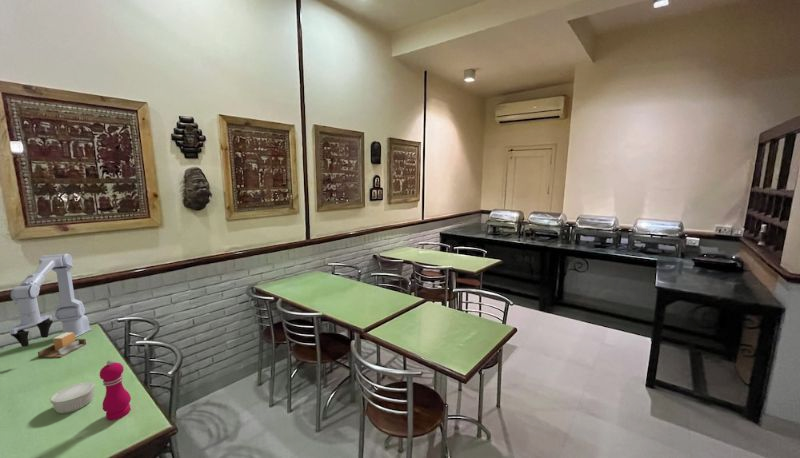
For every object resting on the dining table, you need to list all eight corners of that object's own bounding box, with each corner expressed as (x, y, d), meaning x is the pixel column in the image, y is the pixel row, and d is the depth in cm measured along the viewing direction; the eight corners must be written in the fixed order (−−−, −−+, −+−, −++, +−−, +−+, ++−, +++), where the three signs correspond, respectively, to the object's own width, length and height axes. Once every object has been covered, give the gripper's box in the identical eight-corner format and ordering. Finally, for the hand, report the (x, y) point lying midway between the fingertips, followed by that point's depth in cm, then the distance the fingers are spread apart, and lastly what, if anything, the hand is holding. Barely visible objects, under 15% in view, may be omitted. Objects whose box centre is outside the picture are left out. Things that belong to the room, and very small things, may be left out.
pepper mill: (99, 419, 107) (89, 364, 104) (123, 404, 114) (114, 352, 111) (114, 423, 105) (104, 367, 102) (137, 408, 112) (129, 355, 109)
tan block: (68, 344, 156) (66, 332, 155) (76, 344, 156) (74, 332, 155) (55, 350, 150) (52, 338, 149) (63, 350, 150) (61, 338, 149)
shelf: (66, 344, 157) (65, 339, 157) (86, 344, 157) (85, 338, 157) (38, 357, 145) (37, 352, 145) (60, 357, 145) (59, 351, 145)
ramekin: (64, 398, 118) (62, 385, 117) (103, 391, 122) (100, 378, 121) (44, 419, 107) (41, 405, 107) (86, 410, 111) (84, 397, 110)
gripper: (38, 305, 145) (44, 333, 147) (-1, 319, 131) (6, 350, 133) (54, 305, 145) (59, 333, 147) (16, 319, 131) (23, 350, 133)
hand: (35, 341), depth 140 cm, fingers open, 7 cm apart
